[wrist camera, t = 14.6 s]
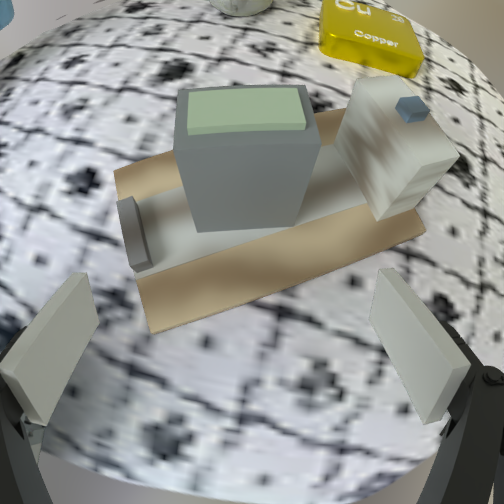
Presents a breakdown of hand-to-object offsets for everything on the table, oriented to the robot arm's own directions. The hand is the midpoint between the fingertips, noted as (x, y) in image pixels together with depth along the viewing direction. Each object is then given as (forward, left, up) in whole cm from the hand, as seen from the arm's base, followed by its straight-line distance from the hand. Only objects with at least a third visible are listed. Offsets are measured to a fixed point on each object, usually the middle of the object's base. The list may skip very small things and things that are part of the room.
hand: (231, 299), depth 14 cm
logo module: (-10, +4, -11) cm, 15 cm away
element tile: (-32, +32, -13) cm, 47 cm away
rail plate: (-10, +7, -12) cm, 17 cm away
